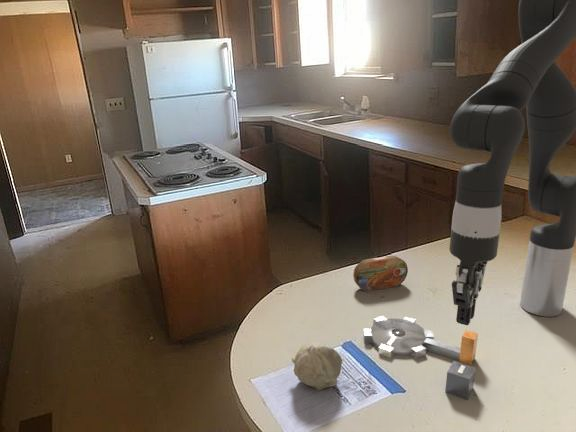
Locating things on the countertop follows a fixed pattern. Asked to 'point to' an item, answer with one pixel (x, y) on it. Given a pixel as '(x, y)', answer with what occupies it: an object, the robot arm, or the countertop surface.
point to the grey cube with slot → (460, 380)
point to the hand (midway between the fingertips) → (465, 319)
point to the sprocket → (397, 336)
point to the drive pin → (456, 348)
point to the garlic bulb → (317, 365)
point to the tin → (380, 273)
